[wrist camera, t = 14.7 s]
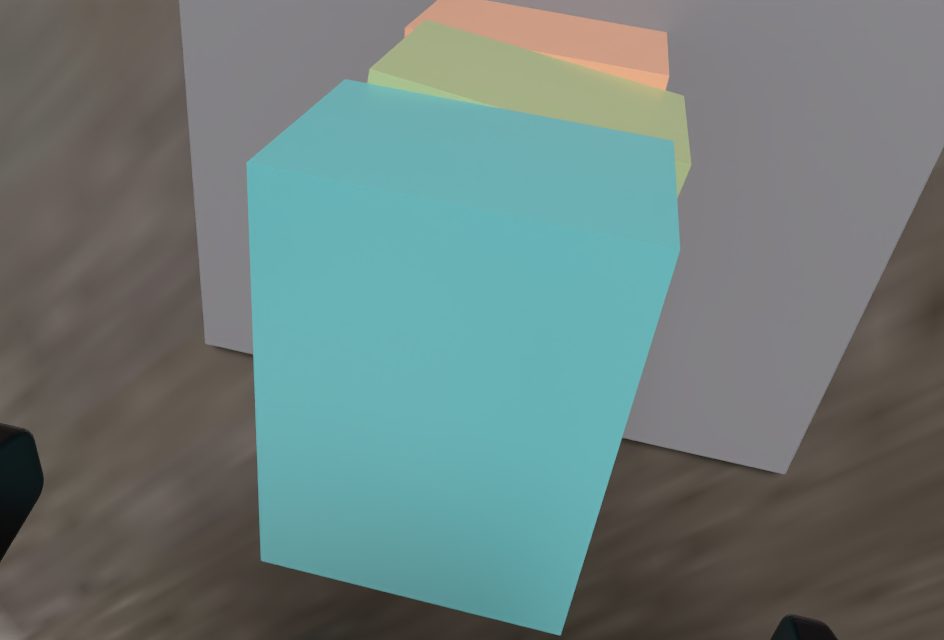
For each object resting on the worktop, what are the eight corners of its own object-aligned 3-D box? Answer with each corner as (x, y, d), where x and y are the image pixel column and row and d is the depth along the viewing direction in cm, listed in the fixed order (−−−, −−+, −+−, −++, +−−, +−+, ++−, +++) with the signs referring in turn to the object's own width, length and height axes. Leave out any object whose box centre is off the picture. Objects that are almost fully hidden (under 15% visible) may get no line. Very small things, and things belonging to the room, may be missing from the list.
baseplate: (782, 460, 24) (785, 474, 23) (214, 333, 25) (205, 343, 25) (1076, -161, 15) (1091, -161, 14) (171, -295, 16) (156, -298, 16)
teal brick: (578, 481, 15) (560, 635, 12) (332, 424, 16) (261, 560, 13) (674, 140, 12) (680, 249, 9) (345, 78, 12) (246, 162, 9)
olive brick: (571, 381, 18) (556, 486, 16) (368, 318, 19) (315, 410, 16) (684, 95, 15) (692, 164, 12) (425, 19, 15) (369, 68, 12)
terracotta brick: (598, 299, 21) (589, 376, 18) (418, 261, 22) (381, 330, 19) (666, 32, 17) (669, 75, 14) (445, -7, 18) (405, 27, 15)
